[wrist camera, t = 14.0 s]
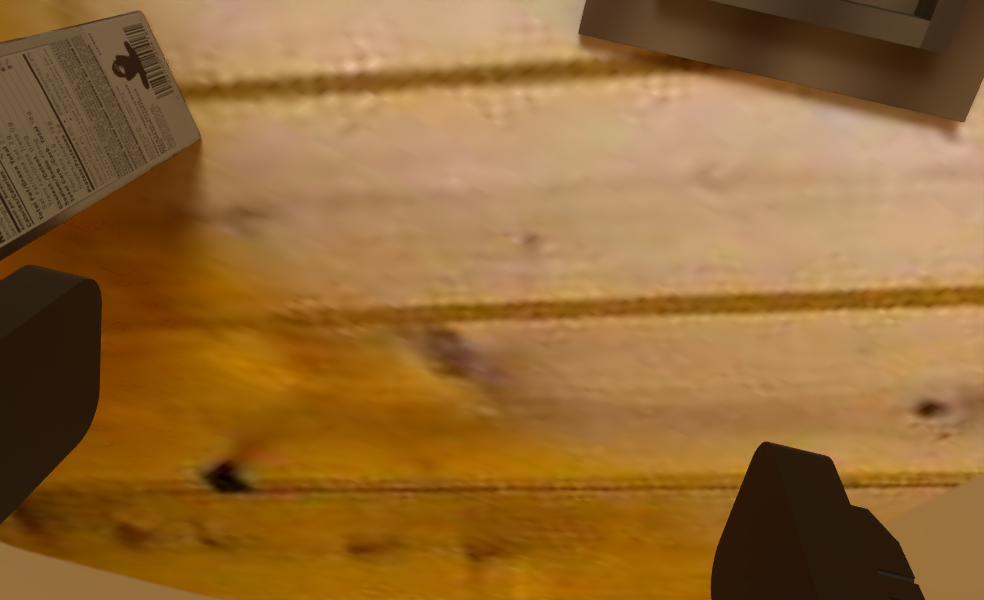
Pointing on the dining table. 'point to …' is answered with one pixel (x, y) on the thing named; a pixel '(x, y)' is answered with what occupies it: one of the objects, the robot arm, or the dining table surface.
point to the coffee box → (82, 121)
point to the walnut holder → (819, 43)
